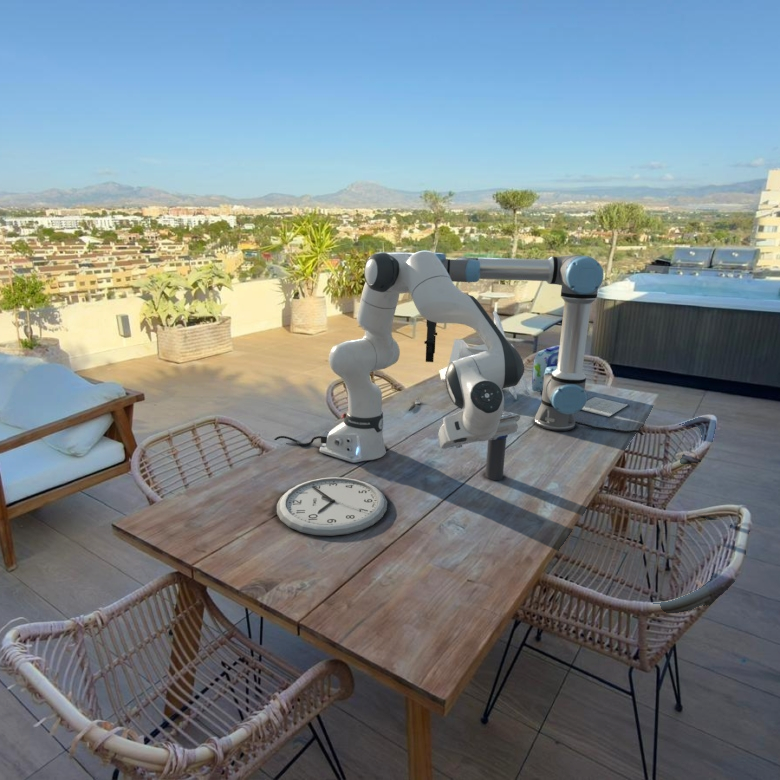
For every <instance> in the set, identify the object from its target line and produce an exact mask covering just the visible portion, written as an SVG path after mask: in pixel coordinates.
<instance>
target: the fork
mask: <svg viewBox="0 0 780 780" xmlns="http://www.w3.org/2000/svg"><path fill="white" fill-rule="evenodd" d="M422 400H423V398H422V396H416V399H415V401H414V404H412V405H411V406H410V408H409V409H408V412H410V411H411V410H413V409H414V408H415V407H416V405H419V404H421V403H422Z"/></svg>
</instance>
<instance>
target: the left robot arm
mask: <svg viewBox="0 0 780 780" xmlns="http://www.w3.org/2000/svg"><path fill="white" fill-rule="evenodd" d="M434 253H435V252H432V251H431V250H420V251H417V252H415V253H414V252H413V253H412V252H384V251H383V252H375V253H373V254H371V255H370V256H369V258H368V259H367V260H366V262H365V265H364V270H363V275H364V280H365V283H364V285H363V289H362V291H361V296H360V300H359V304H358V309H357V313H356V322H357V324H358V326H359V327H360V328H361V329H362V330H364V335H363V337H362V338H358V339H352V340H346V341H343V342H341V343H338V344H336V345H333V347H332V348H331V349H330V351H329V354H328V363H329V364H328V365H329V367H330V369H331V370H332V372H333V373H334V374H335V375H337V376H338V377H339V378H341V379H342V381H343V383H344V385H345V388H346V392H347V406H348V408H347V409H346V411H344V412H343V414H342V415H341V420H342V419H343V421H341V422H340V423H339V424H337V425H335V426H334V427H333V428H332V429H331V430H329V431H325V432H324V433H323V434H321V435H317V436H314V437H312V439H311V440H310V441H309V442H307V443H301V442H300V440H298V439H295V438H292V437H289V436H286V435H279V436H277V437H275V438H274V439H273V441H278V440H279V439H286V440H289V441H292V442H295V443H296V444H297V445H298V446H302V447H306V446H309V445H312V444H313V443H314V441H316V440H317V439H320V443H321V445H320V447H319V453H322V454H324V455H328V456H330V457H334V458H336V459H340V460H343V461H347V462H350V463H355V464H356V463H359V462H365V461H374V460H377V459H380V458H382V457H384V456H385V455H386V453H387V449H386V446H385V441H384V436H383V435H384V434H383V429H384V412H383V411H382V410H383V392H382V390H381V389H382V388H380V386H378V385H377V383H374V382H372V380H371V373H373V372H376V371H381V370H385V369H387V368H389V367H391V366H393V365H395V364H396V363H397V362H398V361H399V359H400V354H401V350H400V346H399V344H398V342H397V341H396V339H395V338H394V337H393V333H392V327H393V322H394V318H395V314H396V310H397V306H398V303H399V299H400V295H401V294H410V296H411V300H412V301H413V303H414V306H415V308H416V310H417V311H418V313H419V315H420V316H421V317H422V318H424V319H425V320H426V319H427V320H429V321H432V322H436V323H437V324H456V325H457V324H458V325H464V326H468V327H470V328H471V329H473V330H474V331H475V332H476V333H477V335H478V337H479V338H480V339H481V341H482V342H483V344H485V345H486V347H487V348H488V349H489V350H487V351H484V352H481V353H478V354H475V355H472V356H468V357H464V358H461V359H458V360H455V361H453V362H451V363H450V364H449V363H448V366H447V367H448V368H447V370H446V373H445V381H446V385H445V387H446V391H447V393H448V397H449V398H450V400H451V402H452V403H453V405H455V406H456V407H457V408H458V409H460V410H459V411H457V412H455V413H453V414H451V415H447V416H445V417H444V418H443V419H442V422H443V424H442V425H441V426H440V427H439V430H438V433H437V438H438V442H439V446H440V448H441V449H444V450H445V449H449V448H453V447H455V448H456V449H459V448H462V447H463V446H464V445H467V444H471V443H472V444H473V443H476V442H486V441H488V440H489V439H490V440H491V441H492V440H496V439H497V438H498V437H500V436H504V435H512V434H515V433H516V432H517V431H518V429H519V427H518V421H520V420H521V415H520V414H519V413H518V414H516V413H514V412H511V411H510V412H509V411H507V412H504V410H505V397H504V396H505V395H504V392H503V389H506V388H508V389H509V387H512V386H514V387H516V386H517V385H518V384H519V383H520V379H521V378H522V376H523V375H524V373H525V364H524V361H523V359H522V356H521V355H520V353H519V351H518V350H517V349H516V347H515V346H514V345H513V344H512V343H511V342H510V341H508V339H507V337H506V336H505V337H506V338H505V337H504V336H503V334H502V333H501V332H500V330H499V329H498V327H497V325H496V322H494V321H493V318H491V316H490V315H489V313H488V312H487V311H486V309H485V308H484V307H483V305H482V303H480V302H479V300H477V298H475V296H474V295H472V294H471V295H470V294H467V293H465V292H463V291H462V290H460V289H459V288H458V287H457V286H456V285H455V284H454V282H452V280H451V278H450V276H449V274H448V272H447V270H446V269H445V267H444V265H443V264H442V262H441V261H440V260H439V258H438V257H437V256H436V255H435V254H434ZM427 320H426V321H427ZM511 344H512V345H513V346H514V347H513V346H512V345H511Z"/></svg>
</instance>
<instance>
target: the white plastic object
mask: <svg viewBox="0 0 780 780" xmlns="http://www.w3.org/2000/svg"><path fill="white" fill-rule="evenodd" d="M492 315H493V319H494V321H495V325H496V326H497V327H498V329H499V330H500V332H501V333H502V334H503V336H504V337H505V338H506V339H507V337H506V334H505V331H504V328H503V325H502V321H501V318H500V315H499V314H498V312H497V311H496V310H495V311H492ZM510 344H511V345H512V346H513V347H514V348H515V346H514V345H513V343H510ZM487 350H489V349H488V348H487V347H486V345H485V344H484V343H483V344H479V345H473V346H469V345H468V343H466V342H465V340H464V339H463V338H460V339H458V338H454V340H453V344H452V349H451V353H450V357H449V362H448V365H449V364H450V363H451V362H453V361H455V360H458V359H461V358H464V357H468V356H472V355H475V354H478V353H481V352H484V351H487ZM447 368H448V366H446V367H444V368H442V369H440V370H439V371H438V372H439V376H440V381H442V383H443V384H444V385H445V386H446V381H445V373H446V370H447ZM519 383H520V385H521V389H522V391H523V393H524V395H525V396H526V397H528V396H531V395H530V390H529V388H528V387H529V386H528V384H527V381H526V378H525V375H524V374H523V376H522V378H521V379H520V381H519ZM508 390H509V393H510V394H511V395H512V397H513V398H514V399H515V400H517V392H516V391H517V390H516V388H515V386H512V387H508Z"/></svg>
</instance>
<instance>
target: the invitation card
mask: <svg viewBox="0 0 780 780" xmlns="http://www.w3.org/2000/svg"><path fill="white" fill-rule="evenodd" d="M628 406H629V404H627V403H623V402H618V401H614V400H609V399H605V398H601V397H596V396H593V397H592V398H590V399H587V401H586V404H585V406H584V407H583V408H582V409H581V410H580V411H584V412H587V413H593V414H596V415H600V416H604V417H608V418H609V417H611V416H613V415H614V414H616V413H617V412H619V411H621V410H623V409H624V408H626V407H628Z"/></svg>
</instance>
